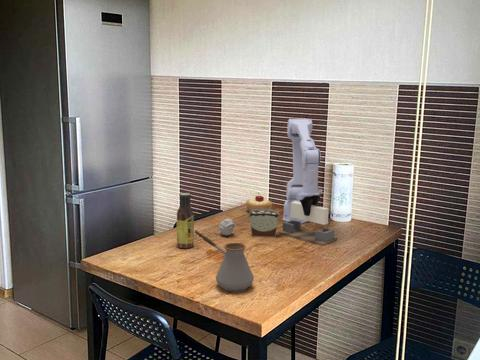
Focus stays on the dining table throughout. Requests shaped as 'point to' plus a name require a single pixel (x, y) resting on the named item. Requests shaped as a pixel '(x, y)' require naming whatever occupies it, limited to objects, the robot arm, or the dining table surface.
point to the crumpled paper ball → (226, 227)
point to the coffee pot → (232, 267)
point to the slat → (315, 216)
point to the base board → (306, 236)
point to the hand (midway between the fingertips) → (309, 214)
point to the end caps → (319, 235)
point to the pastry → (258, 203)
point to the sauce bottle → (185, 222)
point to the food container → (264, 222)
